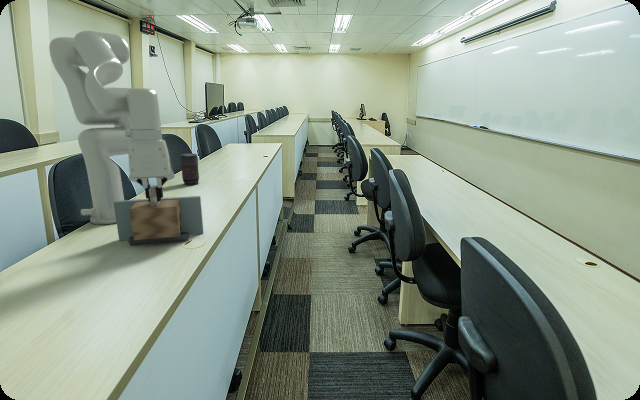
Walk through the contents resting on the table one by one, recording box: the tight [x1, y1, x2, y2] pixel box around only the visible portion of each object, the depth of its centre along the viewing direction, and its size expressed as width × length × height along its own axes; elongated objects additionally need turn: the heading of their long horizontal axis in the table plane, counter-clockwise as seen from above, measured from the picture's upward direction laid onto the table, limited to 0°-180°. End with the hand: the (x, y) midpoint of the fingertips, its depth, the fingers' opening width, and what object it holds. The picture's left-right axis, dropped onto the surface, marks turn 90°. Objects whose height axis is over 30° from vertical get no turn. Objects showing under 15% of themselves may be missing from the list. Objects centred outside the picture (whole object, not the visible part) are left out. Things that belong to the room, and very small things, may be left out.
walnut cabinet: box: [129, 184, 182, 240], centre depth 102 cm, size 12×8×14 cm, turn 105°
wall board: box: [113, 195, 204, 242], centre depth 108 cm, size 24×2×12 cm, turn 105°
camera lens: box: [179, 153, 200, 186], centre depth 176 cm, size 8×8×15 cm
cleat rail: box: [128, 232, 190, 247], centre depth 104 cm, size 16×2×2 cm, turn 105°
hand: (155, 200), depth 101 cm, fingers closed on walnut cabinet, 1 cm apart
